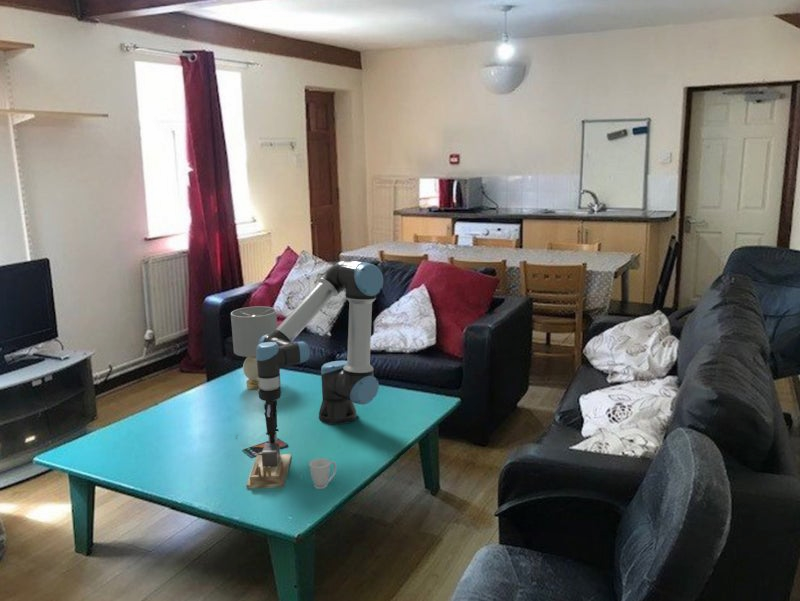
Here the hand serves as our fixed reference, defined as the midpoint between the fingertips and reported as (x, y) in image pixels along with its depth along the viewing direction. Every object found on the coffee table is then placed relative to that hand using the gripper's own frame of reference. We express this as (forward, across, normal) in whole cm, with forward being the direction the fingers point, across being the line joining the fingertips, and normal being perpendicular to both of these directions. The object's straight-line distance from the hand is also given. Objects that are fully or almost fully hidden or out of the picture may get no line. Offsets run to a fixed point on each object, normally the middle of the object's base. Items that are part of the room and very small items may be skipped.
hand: (273, 450), depth 246 cm
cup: (+3, +22, +19) cm, 29 cm away
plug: (+1, +6, 0) cm, 6 cm away
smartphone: (+3, -7, -4) cm, 9 cm away
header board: (+3, +12, 0) cm, 12 cm away
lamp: (+3, -75, -17) cm, 77 cm away
